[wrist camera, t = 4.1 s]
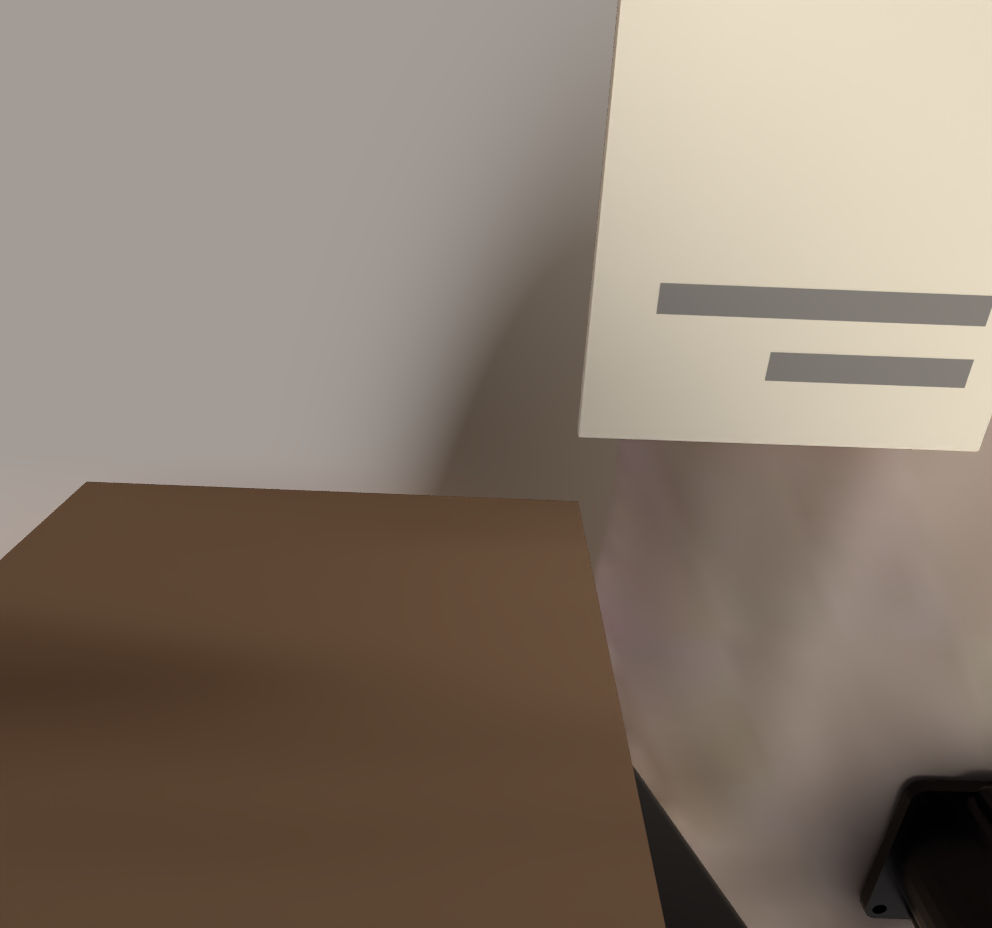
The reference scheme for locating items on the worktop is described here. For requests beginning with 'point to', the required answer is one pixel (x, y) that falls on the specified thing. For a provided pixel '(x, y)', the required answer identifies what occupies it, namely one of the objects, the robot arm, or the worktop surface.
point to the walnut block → (312, 716)
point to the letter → (795, 225)
